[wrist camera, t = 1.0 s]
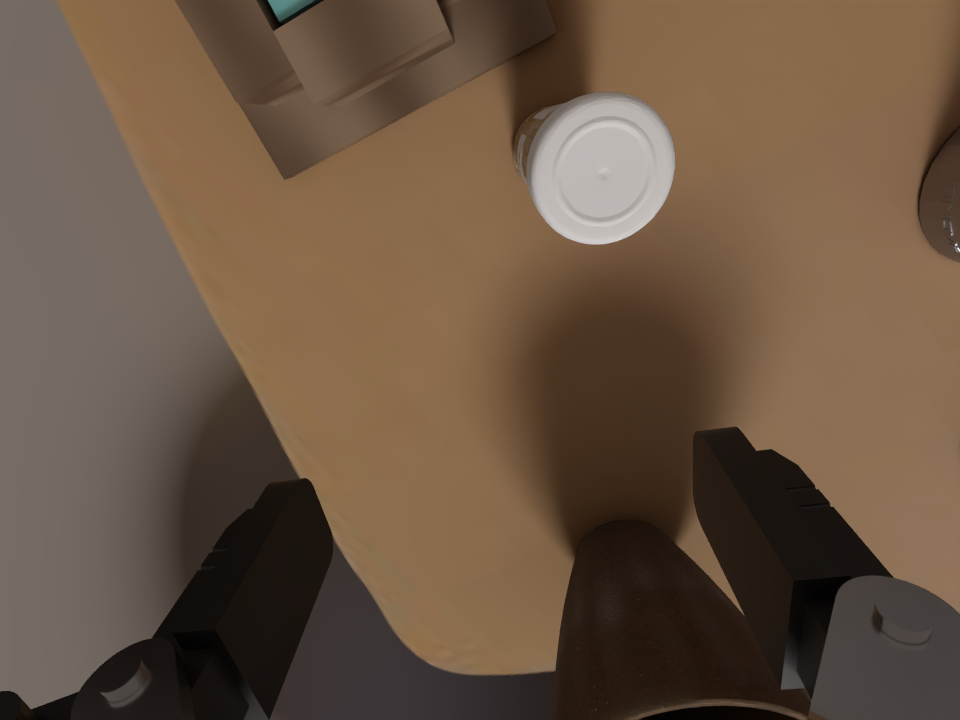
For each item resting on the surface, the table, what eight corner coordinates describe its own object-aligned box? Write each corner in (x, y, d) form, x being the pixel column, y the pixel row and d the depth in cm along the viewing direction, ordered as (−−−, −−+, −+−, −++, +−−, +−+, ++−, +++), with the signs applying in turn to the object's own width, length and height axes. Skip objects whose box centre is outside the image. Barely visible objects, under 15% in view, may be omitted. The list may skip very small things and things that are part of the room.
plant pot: (528, 480, 37) (553, 706, 23) (733, 475, 37) (890, 703, 22) (529, 618, 44) (549, 863, 29) (704, 615, 43) (811, 864, 29)
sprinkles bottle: (499, 172, 28) (505, 210, 16) (536, 87, 26) (575, 60, 14) (570, 207, 29) (628, 270, 17) (612, 128, 27) (710, 134, 15)
